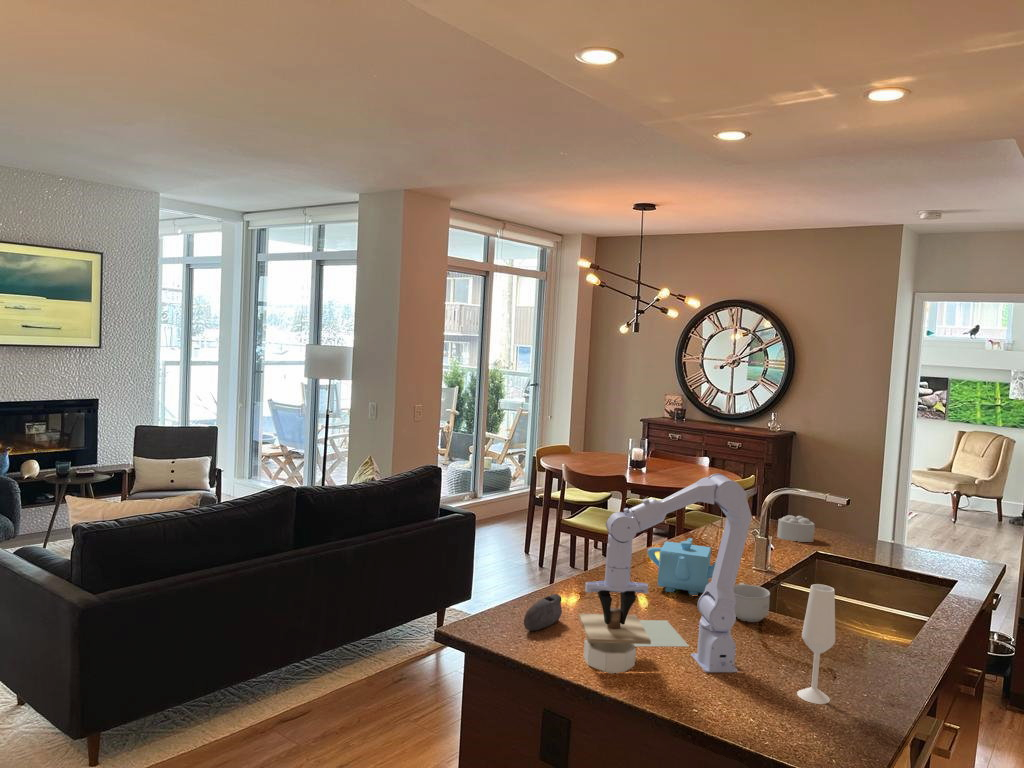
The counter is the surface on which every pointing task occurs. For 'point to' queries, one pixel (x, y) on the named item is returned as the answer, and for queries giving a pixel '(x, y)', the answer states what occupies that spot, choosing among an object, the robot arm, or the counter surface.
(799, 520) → the lumpy-topped squat cylinder
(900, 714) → the counter surface
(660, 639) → the mat
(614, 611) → the cover
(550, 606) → the perforated stone tool
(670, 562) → the teakettle
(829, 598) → the champagne flute
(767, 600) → the teacup
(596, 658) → the bowl
